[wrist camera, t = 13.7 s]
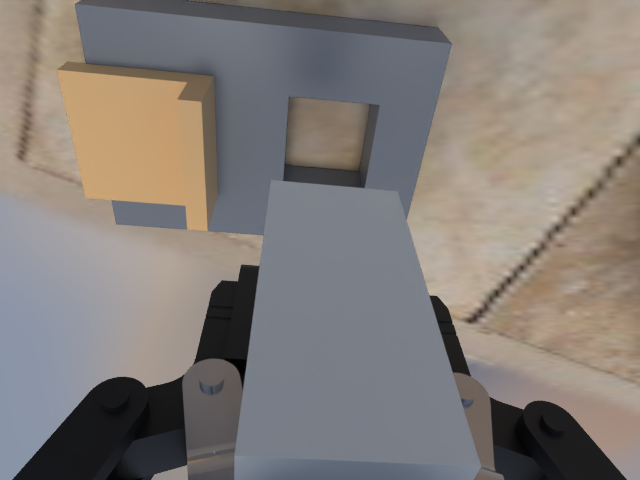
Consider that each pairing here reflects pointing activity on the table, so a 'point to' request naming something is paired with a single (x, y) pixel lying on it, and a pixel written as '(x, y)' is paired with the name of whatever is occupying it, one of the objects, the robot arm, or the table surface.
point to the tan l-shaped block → (144, 136)
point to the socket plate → (277, 92)
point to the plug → (346, 349)
